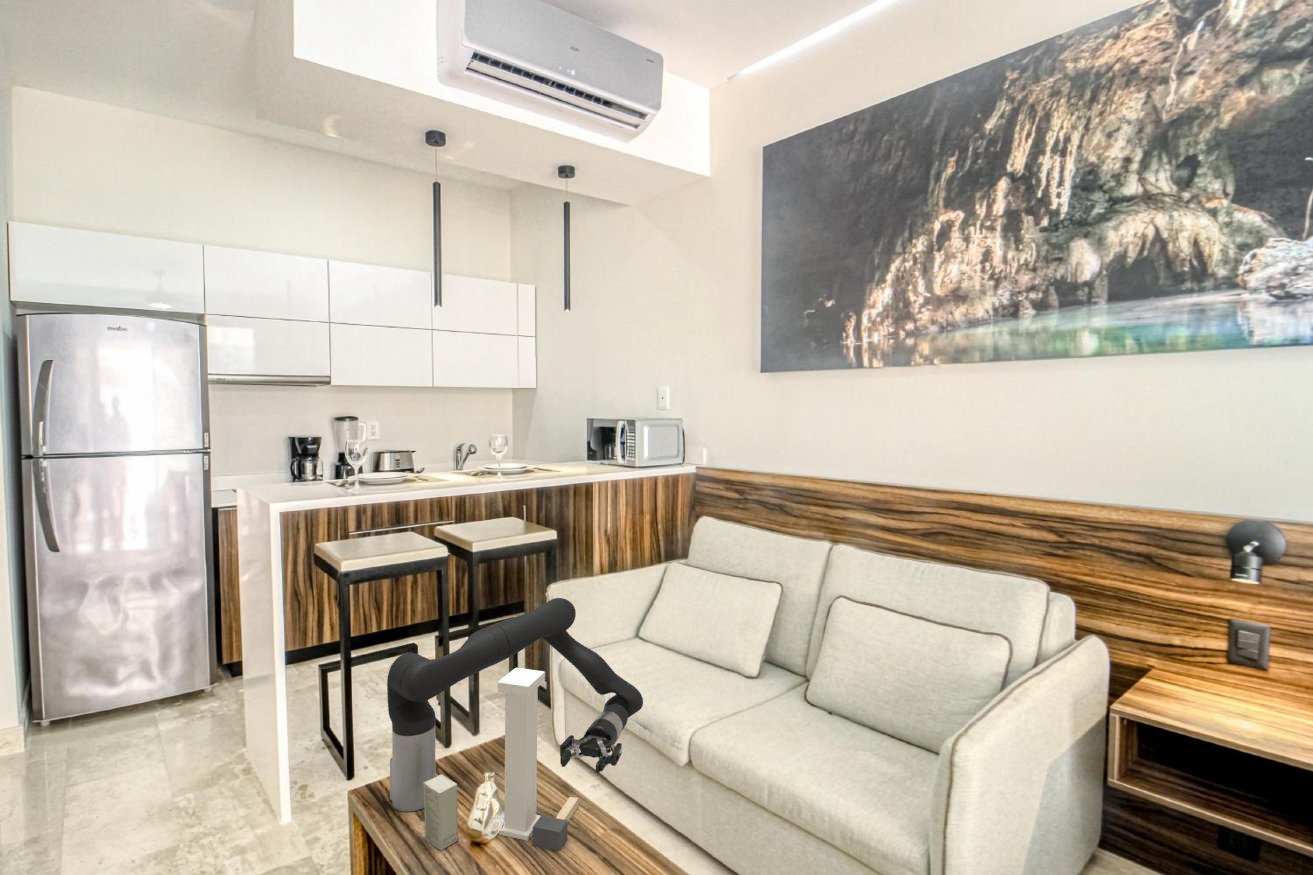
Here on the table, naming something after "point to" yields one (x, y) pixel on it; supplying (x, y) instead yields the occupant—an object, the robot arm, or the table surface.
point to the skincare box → (441, 811)
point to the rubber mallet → (554, 827)
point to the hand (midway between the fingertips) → (579, 765)
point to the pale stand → (520, 751)
